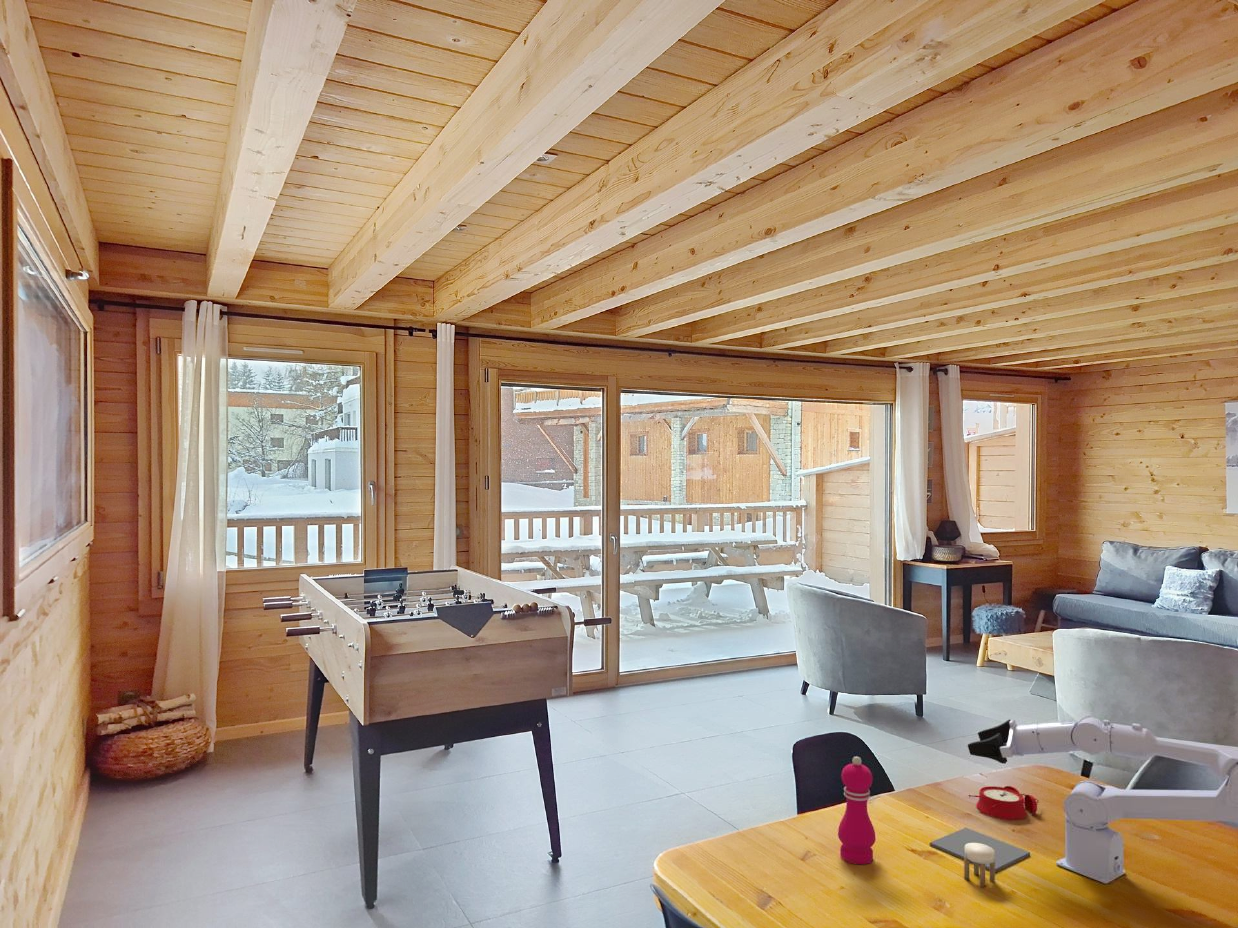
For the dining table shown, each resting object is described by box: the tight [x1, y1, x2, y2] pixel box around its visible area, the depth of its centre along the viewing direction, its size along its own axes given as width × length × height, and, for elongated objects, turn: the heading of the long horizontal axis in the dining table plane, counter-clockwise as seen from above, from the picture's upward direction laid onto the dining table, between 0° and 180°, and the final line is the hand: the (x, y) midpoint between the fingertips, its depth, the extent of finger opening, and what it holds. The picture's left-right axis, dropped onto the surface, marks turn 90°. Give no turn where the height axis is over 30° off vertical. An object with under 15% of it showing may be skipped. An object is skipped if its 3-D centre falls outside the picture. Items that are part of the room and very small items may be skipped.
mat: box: [929, 827, 1031, 873], centre depth 166 cm, size 14×13×1 cm
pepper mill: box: [837, 756, 876, 865], centre depth 163 cm, size 7×7×20 cm
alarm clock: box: [968, 785, 1040, 821], centre depth 187 cm, size 10×6×15 cm
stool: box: [963, 843, 996, 888], centre depth 154 cm, size 5×5×6 cm
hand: (974, 743), depth 173 cm, fingers open, 7 cm apart
